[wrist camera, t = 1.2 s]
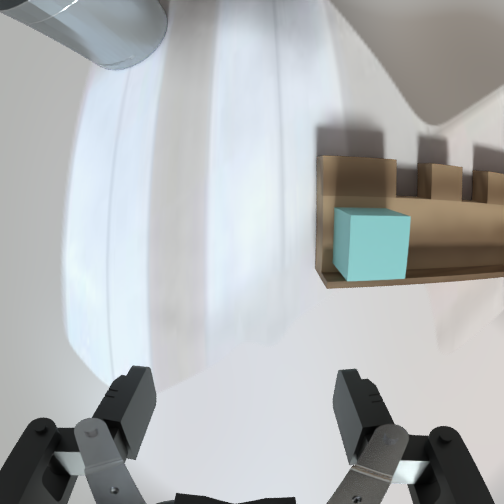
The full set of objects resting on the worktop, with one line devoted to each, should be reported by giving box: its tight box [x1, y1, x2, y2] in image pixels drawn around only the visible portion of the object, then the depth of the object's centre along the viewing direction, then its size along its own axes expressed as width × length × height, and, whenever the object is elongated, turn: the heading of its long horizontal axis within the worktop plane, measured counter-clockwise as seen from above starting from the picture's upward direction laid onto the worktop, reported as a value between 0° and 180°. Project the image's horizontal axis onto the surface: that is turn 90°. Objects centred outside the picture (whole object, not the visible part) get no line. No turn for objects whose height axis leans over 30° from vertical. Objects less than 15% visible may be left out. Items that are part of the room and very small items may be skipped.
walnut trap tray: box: [315, 155, 504, 289], centre depth 27 cm, size 11×26×6 cm, turn 91°
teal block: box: [332, 207, 411, 281], centre depth 25 cm, size 5×5×5 cm
